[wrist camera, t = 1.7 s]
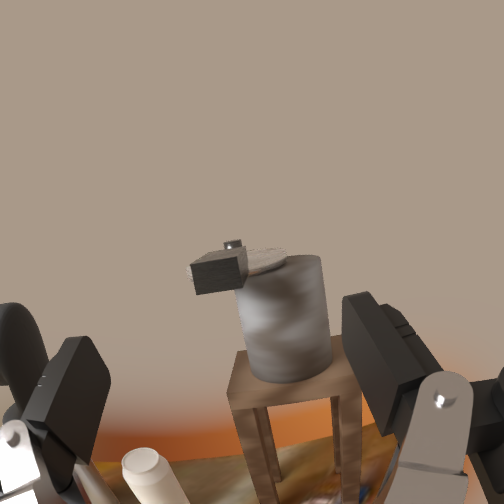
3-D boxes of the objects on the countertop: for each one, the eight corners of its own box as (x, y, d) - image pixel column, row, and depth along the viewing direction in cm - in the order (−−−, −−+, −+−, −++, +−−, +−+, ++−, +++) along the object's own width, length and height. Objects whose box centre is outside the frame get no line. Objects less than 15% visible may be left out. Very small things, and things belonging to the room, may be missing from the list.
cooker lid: (153, 305, 20) (145, 267, 19) (201, 268, 34) (196, 244, 33) (293, 284, 19) (286, 242, 19) (285, 253, 33) (281, 229, 32)
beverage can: (148, 527, 27) (111, 475, 25) (155, 498, 33) (123, 444, 31) (192, 528, 27) (159, 476, 25) (194, 497, 33) (167, 443, 32)
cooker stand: (265, 518, 28) (200, 286, 24) (267, 474, 37) (219, 266, 33) (358, 505, 27) (351, 261, 23) (347, 462, 36) (331, 247, 32)
